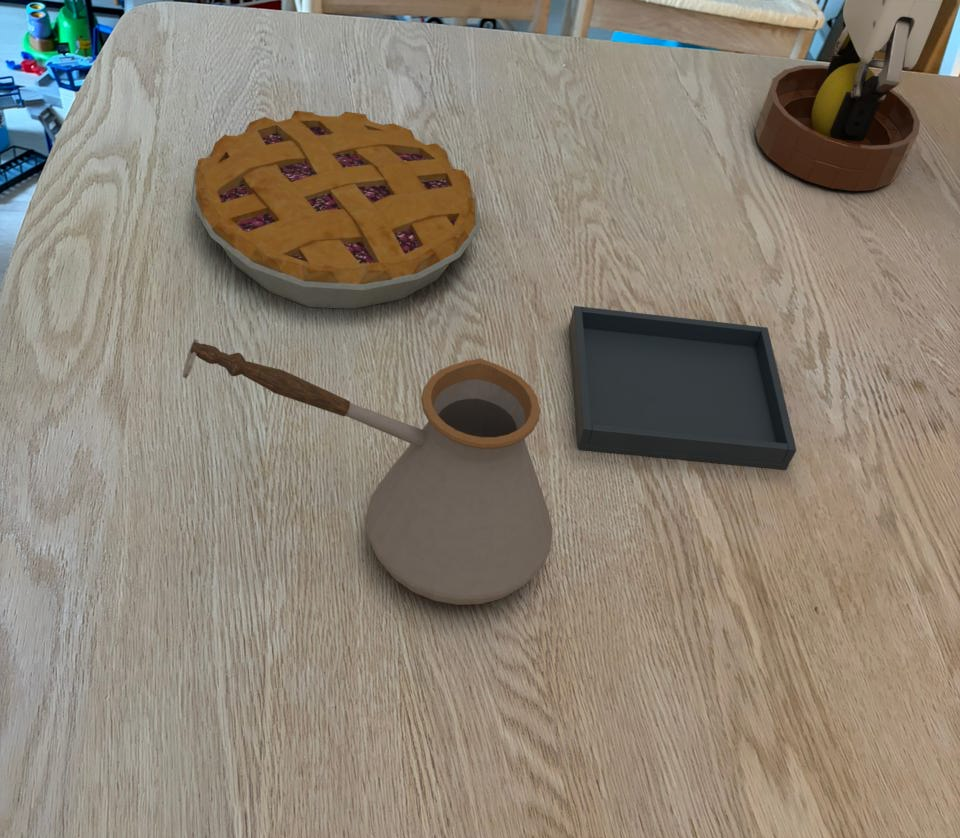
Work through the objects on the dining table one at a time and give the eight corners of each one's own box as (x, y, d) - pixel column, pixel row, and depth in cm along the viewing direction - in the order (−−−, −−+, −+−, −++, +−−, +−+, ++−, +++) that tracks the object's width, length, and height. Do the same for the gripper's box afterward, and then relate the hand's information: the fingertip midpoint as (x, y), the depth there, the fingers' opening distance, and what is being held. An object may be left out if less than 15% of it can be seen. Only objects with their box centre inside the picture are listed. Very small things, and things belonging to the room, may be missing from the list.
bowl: (880, 120, 107) (900, 76, 103) (913, 203, 99) (936, 157, 95) (744, 102, 105) (759, 56, 102) (766, 184, 97) (783, 137, 94)
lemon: (794, 152, 100) (828, 66, 94) (804, 124, 104) (837, 40, 97) (851, 170, 100) (889, 85, 93) (859, 142, 103) (896, 58, 97)
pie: (527, 271, 85) (538, 216, 81) (289, 358, 76) (288, 300, 72) (375, 131, 94) (378, 75, 90) (144, 194, 84) (136, 133, 80)
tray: (759, 347, 83) (767, 327, 82) (786, 470, 76) (797, 450, 74) (568, 326, 82) (574, 305, 80) (577, 449, 74) (583, 428, 73)
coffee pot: (540, 493, 71) (587, 310, 59) (548, 633, 65) (603, 459, 53) (216, 467, 69) (196, 270, 57) (190, 609, 62) (161, 421, 50)
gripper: (1005, -44, 80) (897, 176, 95) (948, -136, 90) (858, 77, 105) (911, -59, 79) (817, 166, 94) (864, -149, 89) (785, 67, 104)
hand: (839, 117), depth 99 cm, fingers closed on lemon, 5 cm apart
